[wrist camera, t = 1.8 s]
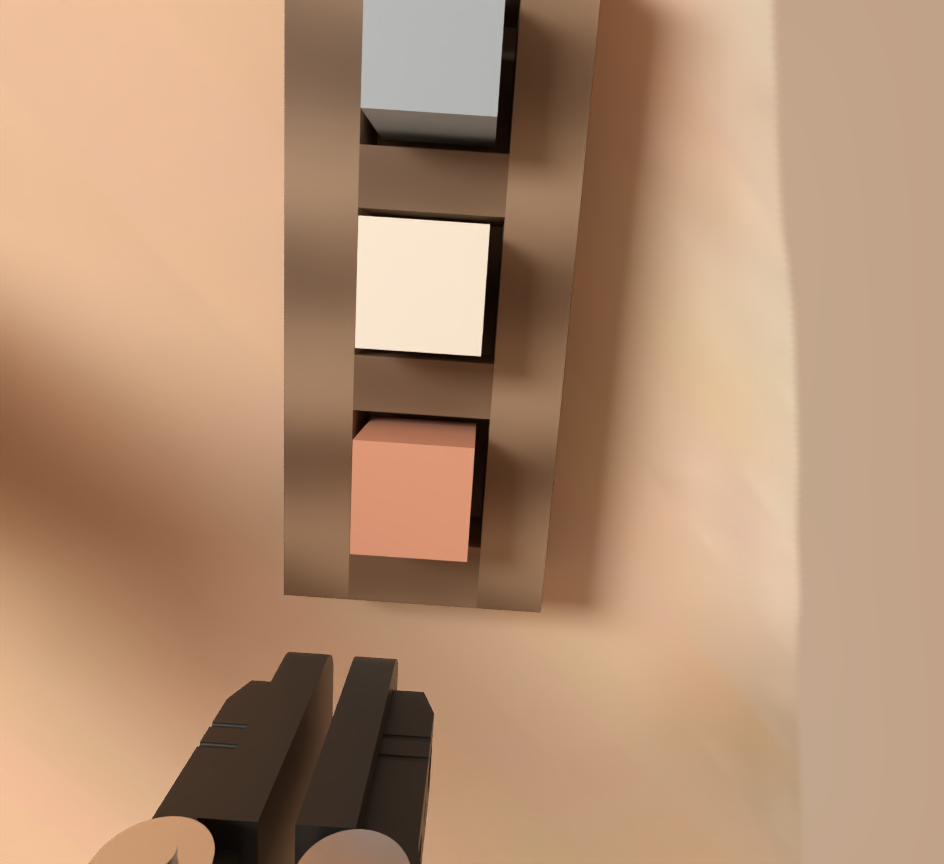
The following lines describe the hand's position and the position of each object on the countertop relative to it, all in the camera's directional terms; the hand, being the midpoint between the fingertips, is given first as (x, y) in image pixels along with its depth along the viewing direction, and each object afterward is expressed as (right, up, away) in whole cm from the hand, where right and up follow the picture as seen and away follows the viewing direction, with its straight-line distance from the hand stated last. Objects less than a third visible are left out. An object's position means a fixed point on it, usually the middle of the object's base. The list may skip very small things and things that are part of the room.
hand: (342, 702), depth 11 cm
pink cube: (0, +3, +14) cm, 15 cm away
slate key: (+1, +17, +11) cm, 20 cm away
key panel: (+1, +11, +15) cm, 18 cm away
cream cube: (+1, +10, +13) cm, 16 cm away
